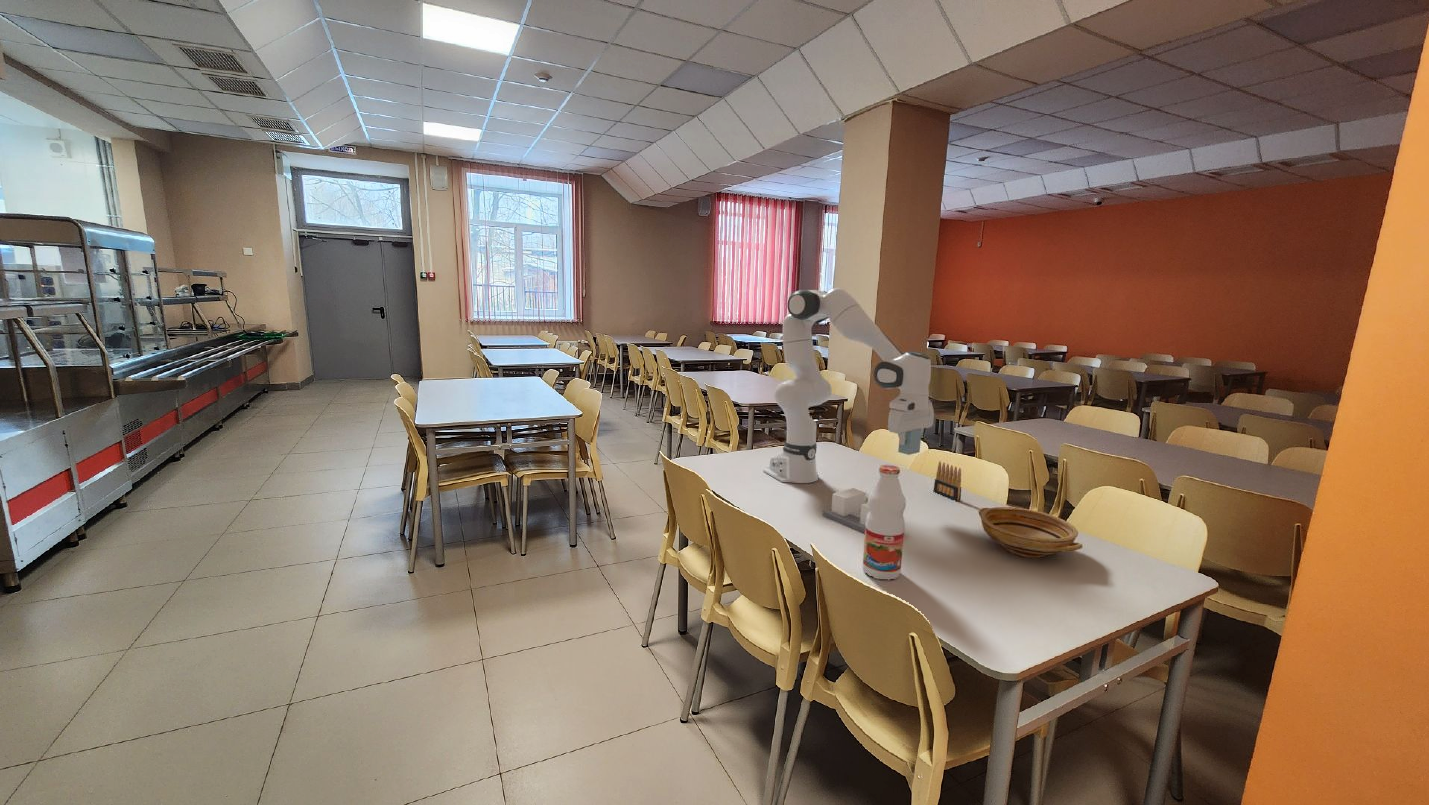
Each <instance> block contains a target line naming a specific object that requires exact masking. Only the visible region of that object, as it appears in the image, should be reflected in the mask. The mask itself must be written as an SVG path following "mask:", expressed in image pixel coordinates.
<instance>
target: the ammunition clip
mask: <svg viewBox="0 0 1429 805" xmlns="http://www.w3.org/2000/svg"><path fill="white" fill-rule="evenodd" d="M935 474H936V476H935V479H934V484H933V493H934V492H935V493H934V494H936V493H937V495H939V494H940V495H939V496H941V495H942V496H941V497H944V498H946V497H947V499H949V500H950V501H954V500H955V501H954V502H957V503H958V502H960V501H961V500H962V499H961V497H962V487H961V486H962V469H961V467H959V468H957V466H953V464H951V465H949V463H945V462H941V460H939V462H938V464H937V471H936V473H935Z"/></svg>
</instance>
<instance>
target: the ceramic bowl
mask: <svg viewBox="0 0 1429 805" xmlns="http://www.w3.org/2000/svg"><path fill="white" fill-rule="evenodd" d="M978 515H979V517H980V519H981V526H982V528H983V531H984V532H985V533H986V534H987V536H989V538H991V539H992V540H993V541H995V542H996V543H998V544H1000V545H1002V547H1003V548H1004V549H1005V550H1006V551H1008V552H1010V553H1013V554H1016V555H1019V556H1023V557H1027V558H1043V557H1045V556H1047V555H1053V554H1054V555H1055V554H1059V553H1062V552H1074V551H1077V550H1081V549H1082V548H1083V543H1081V542H1075V540H1076V538H1078V536H1079V531H1078V529H1077V528H1076V527H1075V526H1074V525H1073V524H1071V523H1070V522H1068V521H1066V520H1065V519H1062V518H1060V517H1057V516H1056V515H1053V514H1049V513H1046V512H1042V511H1039V510H1034V509H1028V508H1025V507H1024V508H1023V507H1013V506H1012V507H1011V506H1000V507H999V506H998V507H997V506H996V507H982V508H981V509H979V510H978Z"/></svg>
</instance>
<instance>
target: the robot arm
mask: <svg viewBox="0 0 1429 805" xmlns="http://www.w3.org/2000/svg"><path fill="white" fill-rule="evenodd" d="M786 304H787V306H786V308H787V311H788V314H787V315H786V316H785V317H784V318H783V321H782V345H783V354H784V362H785V365H786V366H787V367H788V368H789V369H790V370H791V371H792V372H793V373H794V375H795V376H794V377H795V378H794V379H787V380H785V381H783V382H781V383H779V384H778V385H777V386H776V387H775V389H774V400H775V403H776V405H778V406H779V407H780V408H781V410H782V411H783V413H784V416H785V419H786V440H785V441H782V442H781V446H783V447H782V450H780V451H778V452H777V453H775V454H773V455H772V456H771V458H770V460H769V466H766V467H764V468H763V471H762V472H764V473H765V474H767V475H768V476H770V477H772V478H774V479H776V480H777V481H779V482H781V483H794V484H809V483H814V482H816V481H818V480H819V477H818V471H817V470H818V469H817V459H816V454H817V449H818V448H817V442H816V440H817V423H816V421H815V420H814V419H813V418H812V417H811V415H810V413H809V412H810V411H809V407H814V406H815V407H817V406H819V405H822V404H823V403H826V402H827V401H829V400H830V398H831V397H832V386H831V384H830V383H829V381H828V380H827V379H826V378H825V377H824V376H823V374H822V373H821V371H820V370H819V367H818V365H817V361H816V357H815V350H814V342H813V334H812V329H813V328H812V327H813V325H814V324H815V325H818V324H820V323H822V322H824V321H826V320H828V319H829V320H830V322H831V323H832V324H833V326H834V327H835V329H836V330H837V332H838V333H840V334H841V335H842V336H843V337H844V338H845V339H847V340H850V341H855V342H858V343H861V344H864V345H866V346H868V347H870V348H871V349H872V350H874V352H875V353H876V354H877V355H878V356H879V358H880V359H881V360H882V361H881V362H879V363H877V364H876V365H875V367H874V369H873V372H872V374H873V380H874V383H875V384H876V385H877V386H878V387H880V388H882V389H887V390H889V389H899V390H900V393H899V395H898V396H897V397H895V398H894V399H893V400H891V401H889V408H890V410H889V413H888V419H887V420H888V421H887V423H888V424H887V429H888V431H889V432H890V433H894V434H897V436H898V438H899V439H900V441H898V445H899V444H901V445H905V444H907V439H905V435H906V432H908V431H912V430H917V429H922V432H921V436H922V435H923V433H924V429H927V428H932V427H933V425H934V419H935V418H934V417H935V412H934V411H935V410H934V407H933V402H932V401H931V400H930V399H929V397H930V396H929V394H930V391H929V385H930V382H931V377H932V376H931V374H932V366H931V365H932V364H931V358H930V357H929V356H928V355H927V354H925V353H923V352H919V351H913V350H910V351H907V352H905V353H902V351H901V350H900V349H899V348H898V346H896V344H894V343H893V341H892V340H891V339H890V338H889V337H888V335H886V334H885V333H884V331H883V330H882V329H881V328H880V327H879V326H877V324H876V323H875V322H874V321H873V320H872V319H871V317H870V316H869V315H868V314H867V313H866V312H865V310H864V309H863V307H862V306H861V305H860V304H859V302H858V301H857V300H856V298H854V297H853V296H852V295H851V294H850V293H849V292H848V291H847V290H846V289H845V288H842V287H833V288H832V289H830V290H829V291H825V290H818V289H807V290H806V289H799V290H796V291H794V292H793V293H791V294H790V296H789V297H788V299H787V303H786ZM899 439H898V440H899Z"/></svg>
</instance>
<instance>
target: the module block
mask: <svg viewBox="0 0 1429 805" xmlns="http://www.w3.org/2000/svg"><path fill="white" fill-rule="evenodd" d="M921 432H922V429H917V430H912V431H908V432H906V435H905V439H907V444H905V445H901V444H899V443H898V451H897V452H898V453H899V454H905V455H907V456H910V455H913V454H917V453H918V454H919V453H920V451H921V441H922V435H921ZM898 440H899V441H900V439H898ZM899 441H898V442H899Z"/></svg>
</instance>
